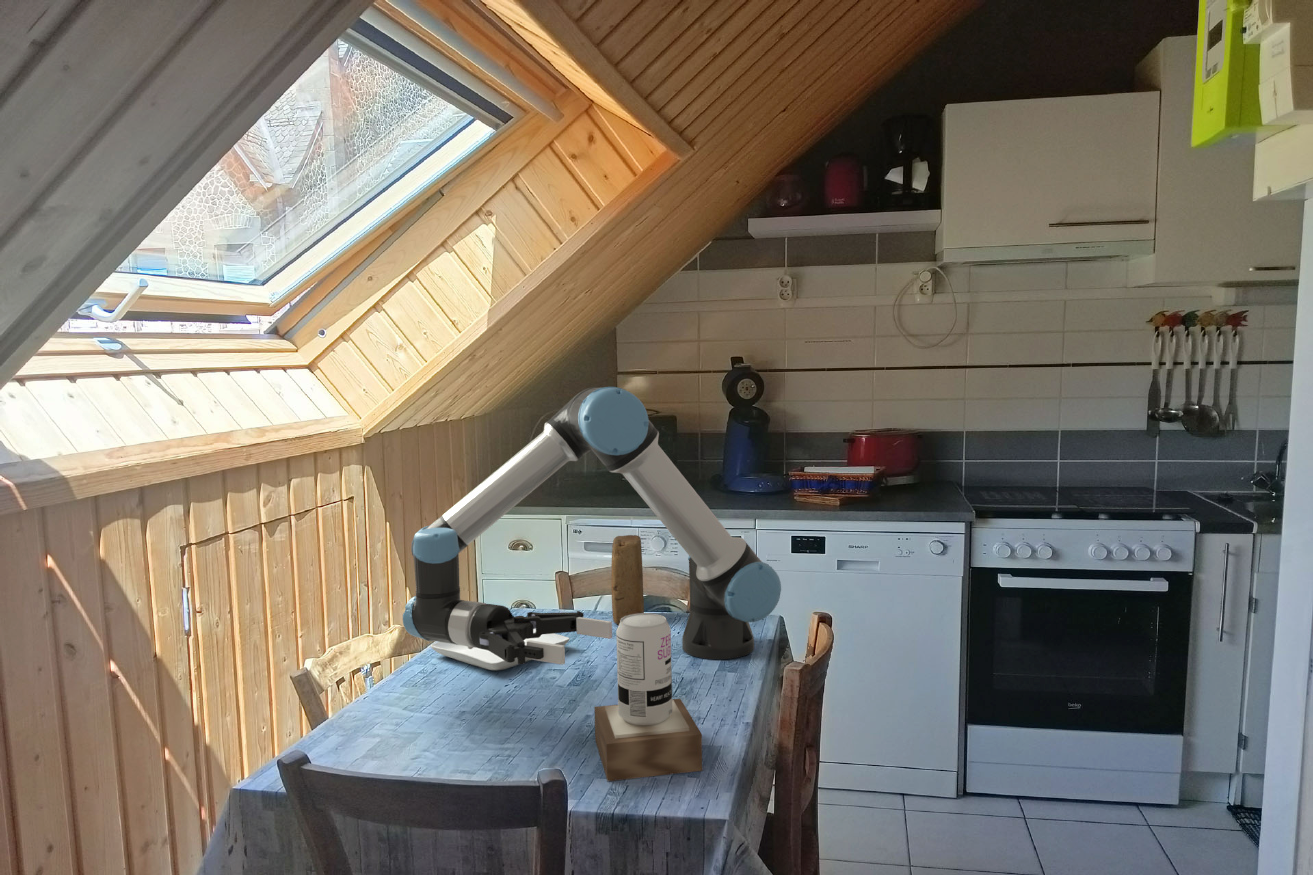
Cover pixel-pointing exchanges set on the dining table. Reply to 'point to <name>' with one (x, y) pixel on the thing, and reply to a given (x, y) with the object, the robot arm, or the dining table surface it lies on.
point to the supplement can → (644, 669)
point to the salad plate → (488, 658)
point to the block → (626, 577)
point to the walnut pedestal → (647, 744)
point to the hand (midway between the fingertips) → (588, 642)
